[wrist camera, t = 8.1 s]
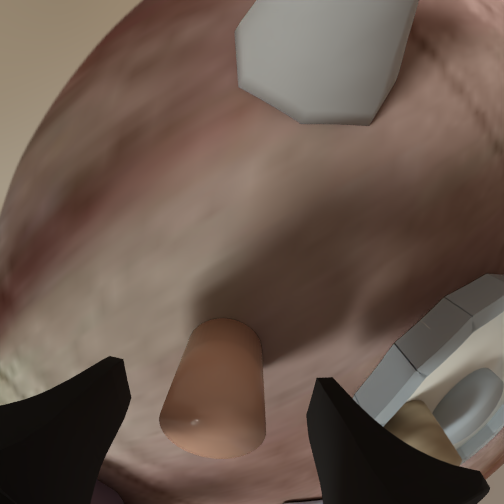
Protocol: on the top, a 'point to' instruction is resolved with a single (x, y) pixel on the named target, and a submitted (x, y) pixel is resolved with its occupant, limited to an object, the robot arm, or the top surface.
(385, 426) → the tan rounded cylinder
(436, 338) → the groove tray
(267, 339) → the top surface
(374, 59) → the flask
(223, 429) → the peach rounded cylinder
